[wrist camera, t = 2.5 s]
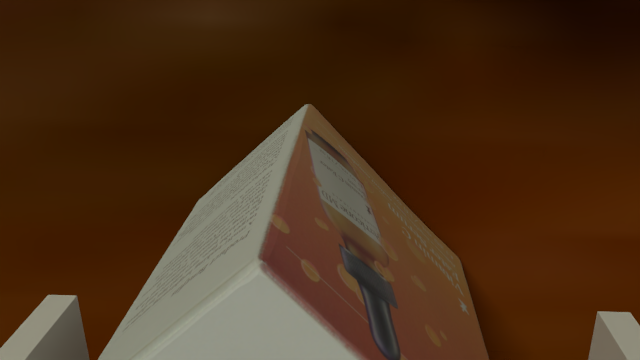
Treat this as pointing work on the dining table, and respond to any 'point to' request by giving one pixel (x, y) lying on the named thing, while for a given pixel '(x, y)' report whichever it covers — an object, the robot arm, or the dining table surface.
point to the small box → (302, 267)
